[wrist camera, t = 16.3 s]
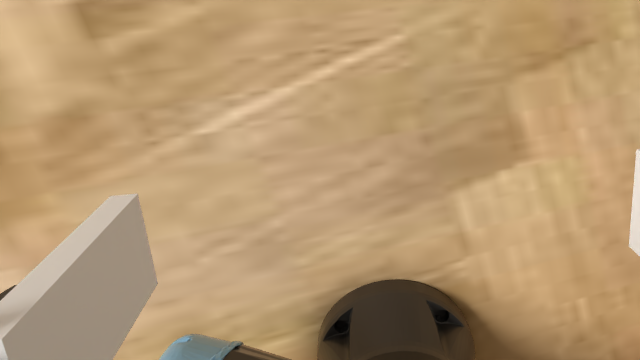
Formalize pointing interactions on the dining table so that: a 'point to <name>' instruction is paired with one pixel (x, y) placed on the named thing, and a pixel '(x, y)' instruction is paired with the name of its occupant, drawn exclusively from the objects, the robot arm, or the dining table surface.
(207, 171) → the dining table surface
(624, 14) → the dining table surface
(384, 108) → the dining table surface
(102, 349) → the robot arm
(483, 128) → the dining table surface
